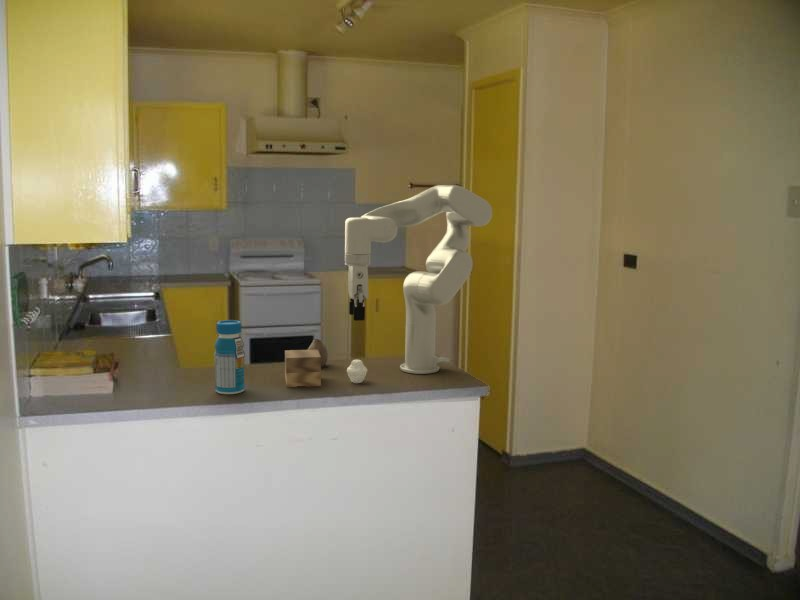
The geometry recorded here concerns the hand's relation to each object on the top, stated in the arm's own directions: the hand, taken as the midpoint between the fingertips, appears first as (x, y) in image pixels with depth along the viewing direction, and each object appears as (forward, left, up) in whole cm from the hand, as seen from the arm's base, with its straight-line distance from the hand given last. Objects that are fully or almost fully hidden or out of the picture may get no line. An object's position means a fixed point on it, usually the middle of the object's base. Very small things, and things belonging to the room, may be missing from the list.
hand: (356, 317), depth 225 cm
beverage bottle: (+37, +5, -20) cm, 42 cm away
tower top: (+16, -2, -16) cm, 22 cm away
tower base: (+16, -2, -20) cm, 26 cm away
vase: (+10, -21, -20) cm, 31 cm away
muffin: (0, 0, -20) cm, 20 cm away
